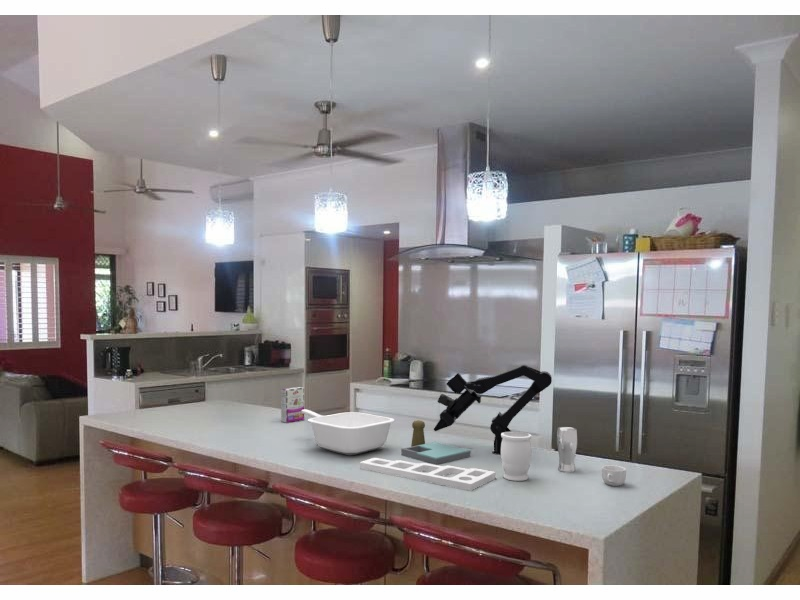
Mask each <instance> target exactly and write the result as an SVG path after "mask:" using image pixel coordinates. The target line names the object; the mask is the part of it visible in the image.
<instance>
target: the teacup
mask: <svg viewBox="0 0 800 600" xmlns="http://www.w3.org/2000/svg"><path fill="white" fill-rule="evenodd" d="M601 478H602V480H603V482H604V483H605V484H606V485H608V484H609V485H608V486H610V485H614V486H613V487H620V486H622V485H624V484H625V481H626V480H627V479H626V478H627V468H626V467H624V466H622V465H621V466H619V465H616V464H615V465H611V464H607V465H602V467H601ZM619 485H620V486H619Z"/></svg>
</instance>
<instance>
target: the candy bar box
mask: <svg viewBox="0 0 800 600" xmlns="http://www.w3.org/2000/svg"><path fill="white" fill-rule="evenodd" d="M280 394H281V395H280V396H281V397H280V400H281V401H280V403H281V404H280V406H281V407H280V413H281V418H280V419H281V420H280V421H281V423H284V424H285V423H286V424H289V422H291V423H295V422H294V421H296V422H300V421H299V420H302V421H304V420H305V414H303V413H302V412H301V410H304V409H305V387H301V386H296V387H287V388H282V389H280Z"/></svg>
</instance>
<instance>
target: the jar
mask: <svg viewBox="0 0 800 600" xmlns="http://www.w3.org/2000/svg"><path fill="white" fill-rule="evenodd" d="M501 437H502V438H503V439H502V443H501V455H500V457H501V465H502V470H503V472H504V473H503V475H502V476H503V478H504V479H505V480H508V481H511V482H512V481H513V482H523V481H527V480H528V479H529V476H528V472H529V469H530V466H531V460H532V443H531V439H532V434H530V433H528V432H522V431H511V432H503V433H501Z"/></svg>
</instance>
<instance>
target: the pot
mask: <svg viewBox="0 0 800 600" xmlns="http://www.w3.org/2000/svg"><path fill="white" fill-rule="evenodd" d="M301 412H302V413H303V414H304V415H306V416H308V417H310V418H308V419H307V422H308V423H311V426H312V431H313V437H314V439H315V443H316V444H317V446H318V447H320V448H321V449H323V450H326V451H330V452H334V453H336V454H340V455H341V454H342V455H345V456H356V455H359V454H363V453H364V454H365V453H368V451H369V452H373V451H375V450H378V449H380V448H382V447H383V446H384V445H385V444H386V443H387V440H388V436H389V431H390V428H391V427H390V426H391V424H393V423H394V422H395V418H392V417H387V416H381V415H376V414H370V413H366V412H359V411H357V412H356V411H349V412H348V411H347V412H339V413H334V414H328V415H322V414H319V413H317V412H315V411H313V410H310V409H307V408H306V409H305V408H304V410H301Z"/></svg>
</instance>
